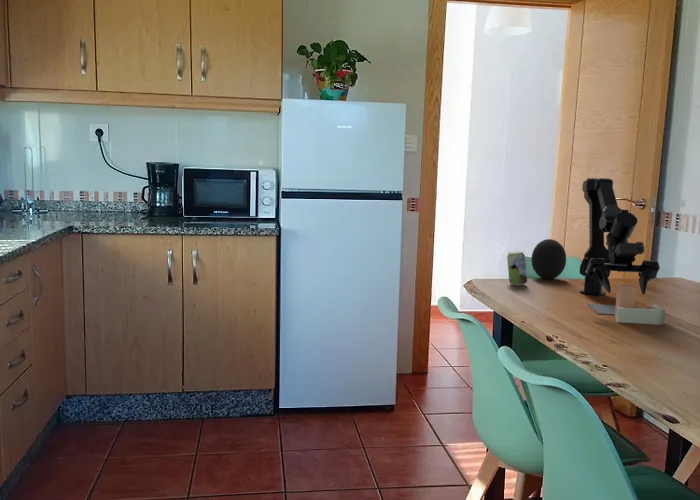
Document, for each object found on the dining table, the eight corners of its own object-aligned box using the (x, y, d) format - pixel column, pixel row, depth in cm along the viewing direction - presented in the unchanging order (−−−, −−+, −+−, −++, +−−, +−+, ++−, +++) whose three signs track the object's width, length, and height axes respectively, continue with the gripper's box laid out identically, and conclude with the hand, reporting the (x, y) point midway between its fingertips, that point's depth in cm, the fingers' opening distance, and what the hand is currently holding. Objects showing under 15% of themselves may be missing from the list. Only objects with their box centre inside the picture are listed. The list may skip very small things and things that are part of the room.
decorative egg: (530, 280, 226) (533, 240, 224) (529, 274, 238) (532, 236, 236) (565, 283, 223) (569, 242, 221) (563, 277, 235) (566, 238, 233)
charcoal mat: (587, 304, 190) (587, 303, 190) (628, 306, 189) (628, 305, 189) (597, 314, 178) (597, 313, 178) (641, 316, 177) (641, 315, 177)
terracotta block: (614, 317, 176) (617, 284, 174) (629, 317, 175) (632, 285, 174) (618, 320, 172) (621, 286, 171) (633, 321, 172) (636, 287, 170)
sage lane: (610, 316, 177) (611, 302, 176) (654, 318, 175) (656, 304, 174) (617, 322, 170) (618, 308, 169) (663, 324, 168) (665, 310, 168)
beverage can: (527, 287, 214) (530, 253, 212) (505, 286, 215) (508, 252, 213) (526, 284, 220) (528, 250, 218) (505, 282, 221) (507, 249, 220)
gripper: (592, 230, 176) (599, 274, 167) (660, 232, 174) (671, 278, 165) (583, 253, 185) (589, 297, 176) (648, 256, 183) (658, 300, 173)
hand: (626, 292), depth 172 cm, fingers open, 9 cm apart
